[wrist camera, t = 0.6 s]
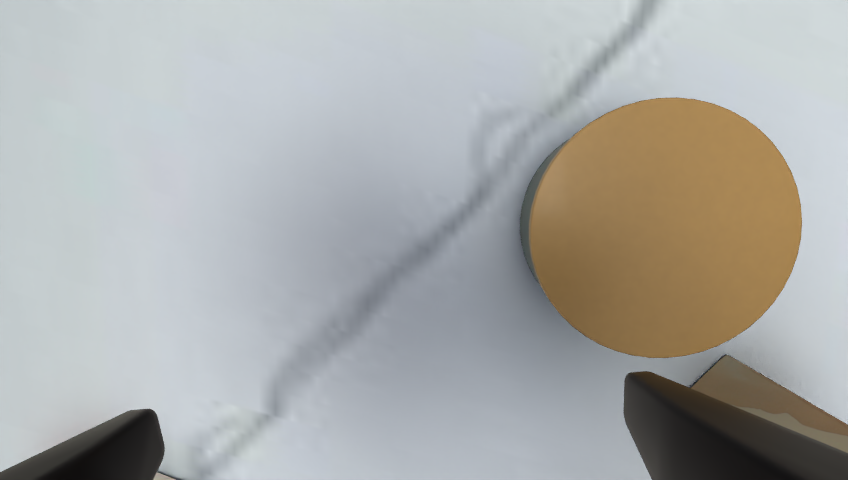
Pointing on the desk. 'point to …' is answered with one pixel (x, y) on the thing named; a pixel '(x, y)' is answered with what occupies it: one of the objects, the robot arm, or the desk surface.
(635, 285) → the tin
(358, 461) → the desk surface
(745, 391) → the box
